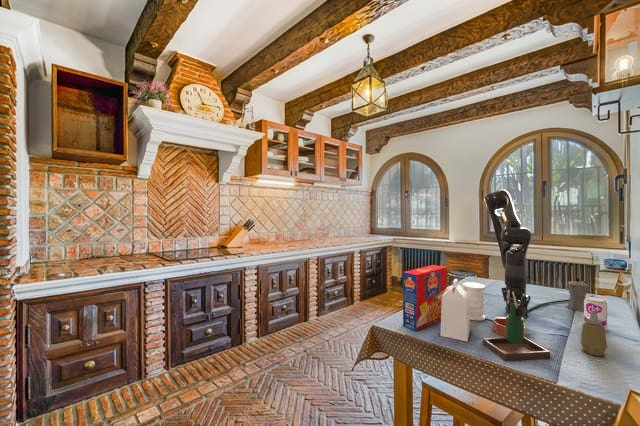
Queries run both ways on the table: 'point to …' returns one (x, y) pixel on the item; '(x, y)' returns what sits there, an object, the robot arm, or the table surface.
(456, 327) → the milk
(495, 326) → the bowl
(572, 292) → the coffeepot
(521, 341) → the bottle
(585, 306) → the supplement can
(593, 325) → the squeeze bottle
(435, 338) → the table surface
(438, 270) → the pasta box
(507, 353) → the tray
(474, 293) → the decorative container
